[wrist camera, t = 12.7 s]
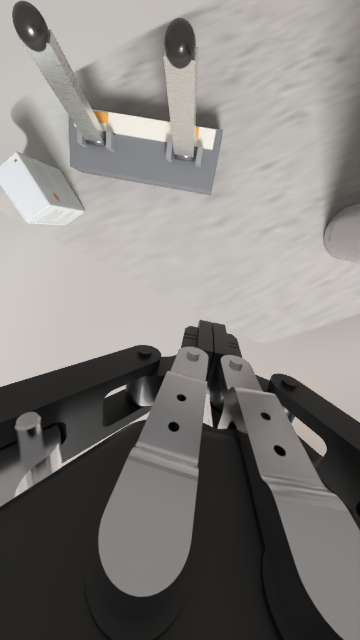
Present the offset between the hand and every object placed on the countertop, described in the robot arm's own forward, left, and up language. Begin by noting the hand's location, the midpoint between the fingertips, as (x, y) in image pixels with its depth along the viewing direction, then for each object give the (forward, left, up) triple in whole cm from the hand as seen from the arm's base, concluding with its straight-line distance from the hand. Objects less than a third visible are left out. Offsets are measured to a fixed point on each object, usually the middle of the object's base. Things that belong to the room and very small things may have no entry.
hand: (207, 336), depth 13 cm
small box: (+30, -7, -33) cm, 45 cm away
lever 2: (+7, -16, -28) cm, 33 cm away
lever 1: (+21, -16, -28) cm, 38 cm away
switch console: (+14, -16, -33) cm, 39 cm away
